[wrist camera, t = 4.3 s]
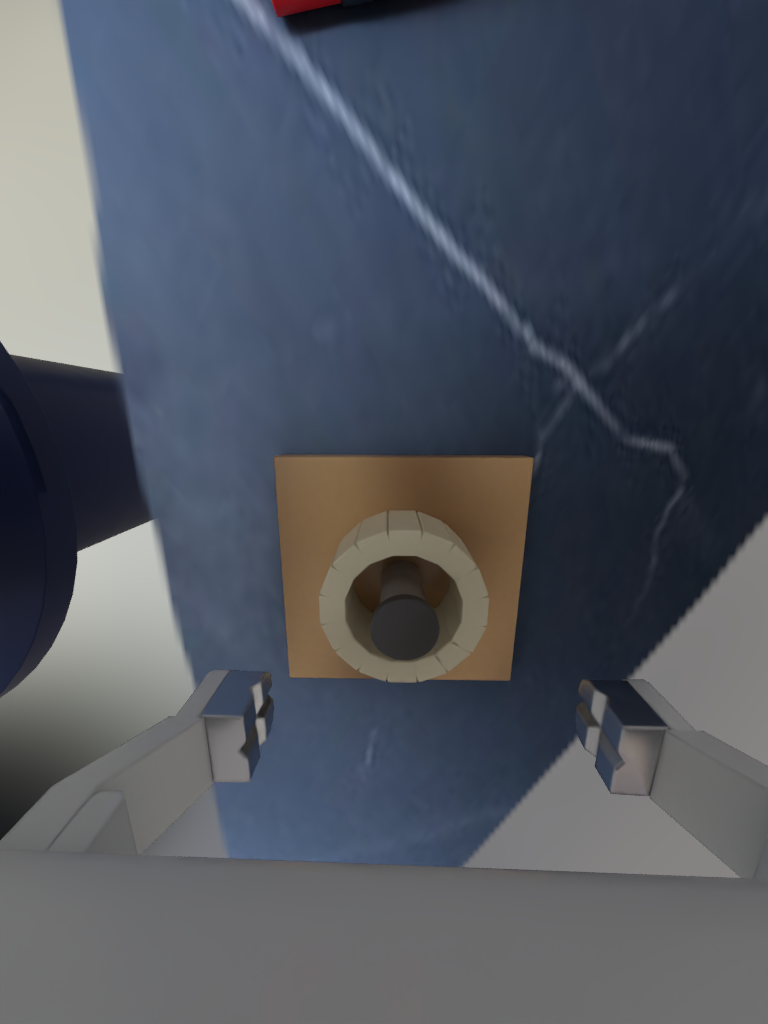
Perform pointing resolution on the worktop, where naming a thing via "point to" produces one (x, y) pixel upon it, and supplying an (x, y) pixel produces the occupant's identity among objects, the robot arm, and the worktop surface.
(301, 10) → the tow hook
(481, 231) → the worktop surface
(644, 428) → the worktop surface
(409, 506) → the peg stand
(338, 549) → the tape roll
